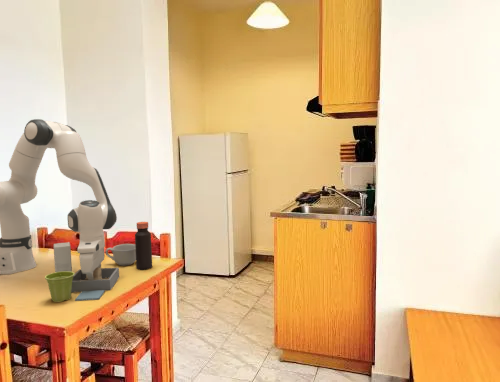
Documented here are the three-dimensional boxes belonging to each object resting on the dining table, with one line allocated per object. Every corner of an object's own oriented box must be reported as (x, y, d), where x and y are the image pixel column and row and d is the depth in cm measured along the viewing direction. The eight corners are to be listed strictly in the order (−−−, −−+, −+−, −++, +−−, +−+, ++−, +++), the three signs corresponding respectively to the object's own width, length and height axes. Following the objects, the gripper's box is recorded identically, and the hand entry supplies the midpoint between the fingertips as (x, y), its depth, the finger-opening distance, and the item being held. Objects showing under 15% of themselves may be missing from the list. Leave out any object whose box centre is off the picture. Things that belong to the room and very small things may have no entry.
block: (86, 286, 160) (85, 271, 159) (90, 283, 164) (89, 268, 163) (98, 286, 160) (98, 270, 159) (101, 282, 165) (101, 267, 164)
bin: (66, 292, 154) (66, 281, 153) (79, 279, 169) (79, 269, 169) (110, 290, 155) (109, 279, 155) (119, 277, 171) (118, 267, 170)
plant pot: (52, 294, 151) (51, 271, 150) (79, 293, 152) (78, 270, 151) (42, 304, 142) (40, 279, 141) (70, 303, 143) (69, 278, 142)
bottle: (135, 270, 180) (133, 224, 177) (137, 265, 186) (135, 221, 184) (151, 269, 181) (149, 223, 178) (152, 265, 187) (151, 220, 185)
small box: (72, 276, 172) (70, 245, 171) (55, 279, 169) (53, 247, 168) (71, 271, 179) (69, 241, 178) (55, 273, 177) (53, 243, 175)
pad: (75, 300, 145) (75, 299, 145) (82, 292, 153) (82, 291, 153) (99, 299, 146) (99, 297, 146) (104, 291, 154) (104, 290, 154)
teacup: (141, 260, 195) (140, 243, 194) (132, 267, 184) (131, 249, 183) (112, 260, 196) (111, 243, 195) (102, 267, 186) (101, 249, 185)
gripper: (91, 237, 170) (93, 270, 172) (75, 249, 150) (78, 287, 152) (107, 236, 171) (109, 269, 173) (93, 249, 151) (96, 286, 152)
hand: (94, 278), depth 162 cm, fingers open, 8 cm apart
